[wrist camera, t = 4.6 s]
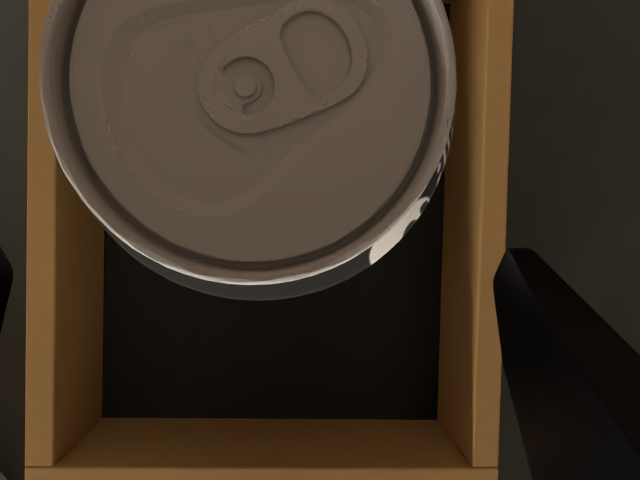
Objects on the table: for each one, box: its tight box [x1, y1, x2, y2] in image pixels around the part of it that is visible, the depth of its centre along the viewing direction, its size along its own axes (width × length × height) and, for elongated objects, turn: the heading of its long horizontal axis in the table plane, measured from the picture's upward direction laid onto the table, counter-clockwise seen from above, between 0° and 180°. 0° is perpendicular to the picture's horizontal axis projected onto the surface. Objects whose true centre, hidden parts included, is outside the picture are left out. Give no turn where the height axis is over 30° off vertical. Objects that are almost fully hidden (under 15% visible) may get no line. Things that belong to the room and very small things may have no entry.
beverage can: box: [39, 0, 457, 301], centre depth 13 cm, size 7×7×12 cm
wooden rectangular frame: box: [25, 0, 514, 480], centre depth 17 cm, size 17×14×4 cm
